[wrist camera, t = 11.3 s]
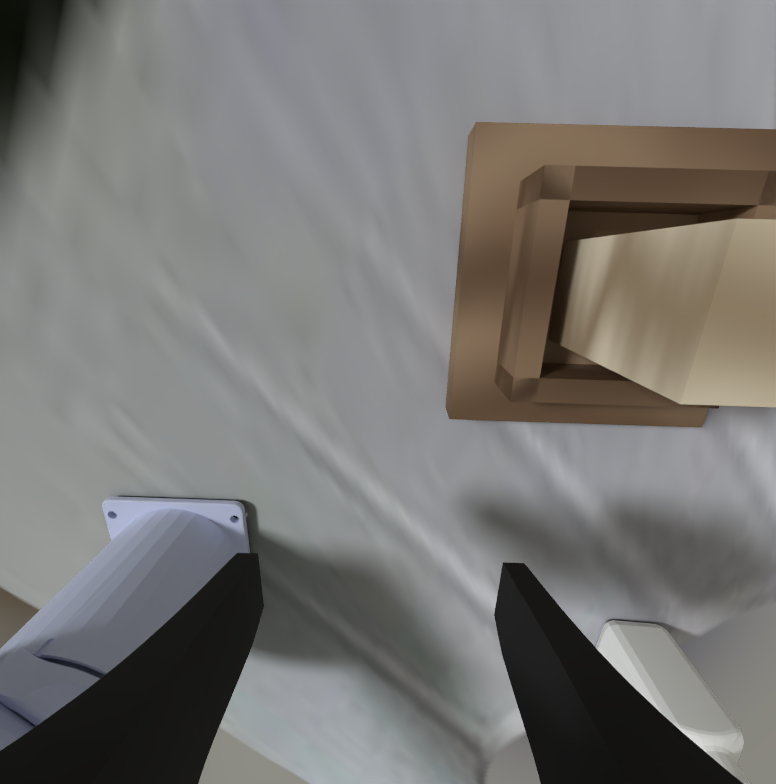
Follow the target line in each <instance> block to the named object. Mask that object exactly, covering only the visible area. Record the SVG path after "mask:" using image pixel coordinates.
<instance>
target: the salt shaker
mask: <svg viewBox="0 0 776 784" xmlns="http://www.w3.org/2000/svg"><path fill="white" fill-rule="evenodd" d="M595 648H596V649H597V650H598V651H599V652H600V653H601V654H602V655H603V656H604V657H605V658H606V659H607V660H608V661H609V663H610V664H611V665H612V666H613V667H614V668H615V669H616V670H617V671H618V672H619V673H620V674H621V675H622V676H623V677H624V678H625V679H626V680H627V681H628V682H629V683H630V684H631V685H632V686H633V687H634V688H635V689H636V690H637V691H638V692H639V693H640V694H641V695H642V696H644V697H645V698H646V699H647V700H648V701H649V702H650V703H651V704H652V705H653V706H654V707H655V708H656V709H657V710H658V711H659V712H660V713H661V714H663V715H664V716H665V717H666V718H667V719H668V720H669V721H670V722H671V723H673V724H674V725H675V726H676V727H677V728H678V729H679V730H680V731H681V732H683V733H684V734H685V735H686V736H687V737H689V738H690V739H691V740H692V741H693V742H694V743H696V744H697V745H698V746H699V747H700V748H701V749H703V750H704V751H705V752H706V753H707V754H708V755H710V756H711V757H712V758H713V759H714V760H715V761H717V762H718V763H719V764H720V765H721V766H722V767H724V768H725V769H726V770H727V771H729V772H730V773H731V774H732V775H734V776H735V777H736V778H737V779H738V780H740V781H741V782H742V783H743V784H751V783H750V781H749V780H748V779H747V777H746V776H745V774H744V773H743V771H742V770H741V768H740V767H739V765H738V764H737V762H738V761H739V759H740V757H741V753H742V750H743V746H744V739H743V736H742V732H741V730H740V728H739V727H738V725H737V724H736V723H735V721H734V720H733V719H732V717H731V716H730V715H729V713H728V712H727V710H726V709H725V708H724V706H723V705H722V704H721V702H720V701H719V700H718V698H717V697H716V696H715V694H714V693H713V692H712V690H711V689H710V688H709V686H708V685H707V684H706V682H705V681H704V680H703V678H702V677H701V676H700V674H699V673H698V671H697V670H696V669H695V667H694V666H693V665H692V663H691V662H690V661H689V659H688V658H687V657H686V655H685V654H684V653H683V651H682V650H681V648H680V647H679V646H678V644H677V643H676V642H675V640H674V639H673V638H672V636H671V635H670V634H669V632H668V631H667V630H666V629H665V628H663V627H662V626H660V625H657V624H651V623H639V622H627V621H615V620H612V621H609V622H607V623H606V624H604V627H603V629H602V632H601V634H600V637H599V640H598V642H597V645H596V647H595Z"/></svg>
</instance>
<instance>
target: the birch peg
mask: <svg viewBox="0 0 776 784" xmlns="http://www.w3.org/2000/svg"><path fill="white" fill-rule="evenodd" d="M548 339H549V340H551V341H553V342H555V343H557V344H559V345H561V346H563V347H565V348H567V349H569V350H571V351H573V352H575V353H577V354H579V355H581V356H583V357H585V358H587V359H589V360H591V361H593V362H595V363H597V364H599V365H601V366H604V367H606V368H608V369H610V370H612V371H614V372H616V373H618V374H620V375H622V376H624V377H626V378H628V379H630V380H632V381H634V382H636V383H638V384H640V385H642V386H644V387H646V388H648V389H650V390H652V391H654V392H656V393H658V394H660V395H663V396H665V397H667V398H669V399H671V400H673V401H675V402H677V403H679V404H688V405H720V406H752V407H776V220H773V219H731V220H723V221H716V222H708V223H701V224H693V225H686V226H678V227H671V228H663V229H656V230H649V231H641V232H634V233H626V234H619V235H611V236H604V237H596V238H589V239H581V240H574V241H567V242H565V243H564V249H563V255H562V261H561V266H560V272H559V278H558V284H557V290H556V296H555V302H554V307H553V313H552V319H551V325H550V331H549V337H548Z"/></svg>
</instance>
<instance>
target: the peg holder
mask: <svg viewBox="0 0 776 784" xmlns="http://www.w3.org/2000/svg"><path fill="white" fill-rule="evenodd" d="M731 219H773V220H776V130H775V129H735V128H694V127H654V126H614V125H574V124H534V123H493V122H476V123H475V125H474V127H473V129H472V130H471V132H470V134H469V137H468V149H467V161H466V173H465V185H464V196H463V208H462V220H461V232H460V244H459V256H458V267H457V279H456V291H455V303H454V315H453V326H452V338H451V350H450V362H449V374H448V386H447V397H446V410H447V413H448V416H449V419H465V420H495V421H525V422H556V423H586V424H617V425H647V426H677V427H702V426H703V423H704V420H705V417H706V414H707V411H708V408H719V405H688V404H679V403H677V402H675V401H673V400H671V399H669V398H667V397H665V396H663V395H660V394H658V393H656V392H654V391H652V390H650V389H648V388H646V387H644V386H642V385H640V384H638V383H636V382H634V381H632V380H630V379H628V378H626V377H624V376H622V375H620V374H618V373H616V372H614V371H612V370H610V369H608V368H606V367H604V366H601V365H599V364H597V363H595V362H593V361H591V360H589V359H587V358H585V357H583V356H581V355H579V354H577V353H575V352H573V351H571V350H569V349H567V348H565V347H563V346H561V345H559V344H557V343H555V342H553V341H551V340H549V339H548V337H549V331H550V325H551V319H552V313H553V307H554V302H555V296H556V290H557V284H558V278H559V272H560V266H561V261H562V255H563V249H564V243H565V242H567V241H574V240H581V239H589V238H596V237H604V236H611V235H619V234H626V233H634V232H641V231H649V230H656V229H663V228H671V227H678V226H686V225H693V224H701V223H708V222H716V221H723V220H731Z"/></svg>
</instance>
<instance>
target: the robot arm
mask: <svg viewBox="0 0 776 784" xmlns="http://www.w3.org/2000/svg"><path fill="white" fill-rule="evenodd" d="M102 508H103V511H104V515H105V519H106V522H107V526H108V530H109V533H110V537H111V542H110V543H109V544H108V545H107V546H106V547H105V548H104V549H103V550H101V551H100V552H99V553H98V554H97V555H96V556H95V557H94V558H93V559H92V560H91V561H90V562H89V563H88V564H87V565H86V566H85V567H84V568H83V569H82V570H81V571H80V572H79V573H78V574H77V575H76V576H75V577H74V578H73V579H72V580H71V581H70V582H69V583H68V584H67V585H65V586H64V587H63V588H62V589H61V590H60V591H59V592H58V593H57V594H56V595H55V596H54V597H53V598H52V599H51V600H50V601H49V602H48V603H47V604H46V605H45V606H44V607H43V608H42V609H41V610H40V611H39V612H38V613H37V614H36V615H35V616H34V617H33V618H32V619H31V620H30V621H28V622H27V623H26V624H25V625H24V627H22V628H21V629H20V631H18V632H17V633H16V634H15V635H14V636H13V637H12V638H11V639H10V640H9V641H8V642H7V643H6V644H5V645H4V646H3V647H2V648H1V649H0V784H198V782H199V779H200V776H201V773H202V770H203V767H204V764H205V761H206V759H207V756H208V753H209V750H210V748H211V745H212V743H213V740H214V737H215V735H216V733H217V730H218V728H219V725H220V723H221V720H222V718H223V716H224V713H225V711H226V708H227V706H228V703H229V701H230V699H231V696H232V694H233V691H234V689H235V686H236V684H237V682H238V679H239V677H240V674H241V672H242V669H243V667H244V664H245V662H246V659H247V657H248V654H249V652H250V649H251V647H252V644H253V641H254V638H255V634H256V631H257V628H258V624H259V621H260V617H261V614H262V610H263V607H264V605H263V596H262V587H261V578H260V569H259V560H258V554H256V553H250V547H249V539H248V530H247V522H246V514H245V507H244V505H243V504H242V503H240V502H239V501H228V500H199V499H171V498H143V497H114V496H113V497H109V498H107V499H106V500H105V501H104V502H103V503H102ZM114 512H115V513H116V514H115V513H114ZM234 516H237V517H238V518H239V519H237V518H235V517H234ZM494 616H495V621H496V626H497V631H498V636H499V641H500V646H501V651H502V655H503V659H504V662H505V665H506V669H507V672H508V675H509V678H510V682H511V685H512V688H513V692H514V695H515V698H516V701H517V704H518V708H519V711H520V714H521V717H522V720H523V724H524V727H525V730H526V733H527V737H528V739H529V743H530V746H531V749H532V752H533V756H534V760H535V763H536V767H537V771H538V774H539V778H540V782H541V784H743V783H742V782H741V781H740V780H738V779H737V778H736V777H735V776H734V775H732V774H731V773H730V772H729V771H727V770H726V769H725V768H724V767H722V766H721V765H720V764H719V763H718V762H717V761H715V760H714V759H713V758H712V757H711V756H710V755H708V754H707V753H706V752H705V751H704V750H703V749H701V748H700V747H699V746H698V745H697V744H696V743H694V742H693V741H692V740H691V739H690V738H689V737H687V736H686V735H685V734H684V733H683V732H681V731H680V730H679V729H678V728H677V727H676V726H675V725H674V724H673V723H671V722H670V721H669V720H668V719H667V718H666V717H665V716H664V715H663V714H661V713H660V712H659V711H658V710H657V709H656V708H655V707H654V706H653V705H652V704H651V703H650V702H649V701H648V700H647V699H646V698H645V697H644V696H642V695H641V694H640V693H639V692H638V691H637V690H636V689H635V688H634V687H633V686H632V685H631V684H630V683H629V682H628V681H627V680H626V679H625V678H624V677H623V676H622V675H621V674H620V673H619V672H618V671H617V670H616V669H615V668H614V667H613V666H612V665H611V664H610V663H609V661H608V660H607V659H606V658H605V657H604V656H603V655H602V654H601V653H600V652H599V651H598V650H597V649H596V648H595V646H594V645H593V644H592V643H591V642H590V641H589V640H588V639H587V638H586V637H585V635H584V634H583V633H582V632H581V631H580V630H579V629H578V627H577V626H576V625H575V624H574V623H573V622H572V621H571V619H570V618H569V617H568V616H567V615H566V614H565V612H564V611H563V610H562V609H561V608H560V607H559V605H558V604H557V603H556V602H555V600H554V599H553V598H552V597H551V596H550V594H549V593H548V592H547V591H546V590H545V588H544V587H543V586H542V585H541V583H540V582H539V581H538V580H537V578H536V577H535V576H534V575H533V573H532V572H531V571H530V570H529V569H528V567H527V566H526V565H525V564H524V563H503V566H502V572H501V578H500V584H499V590H498V596H497V602H496V608H495V614H494Z"/></svg>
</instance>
